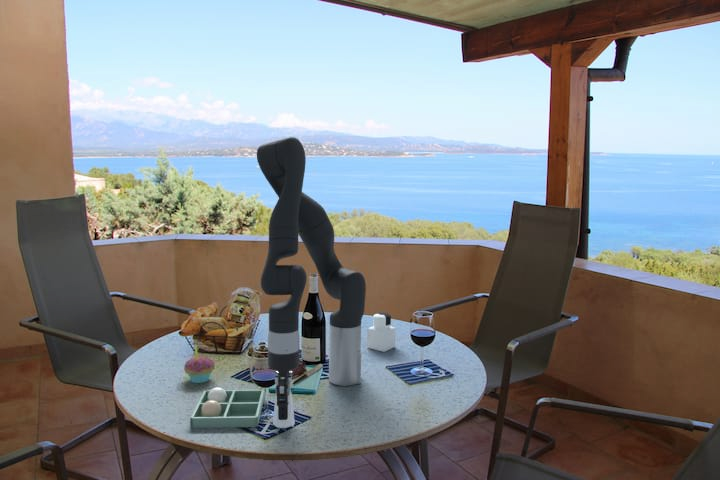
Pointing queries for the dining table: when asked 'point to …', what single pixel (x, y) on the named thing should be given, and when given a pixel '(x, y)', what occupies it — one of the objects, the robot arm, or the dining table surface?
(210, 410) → the egg brown
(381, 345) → the medicine bottle
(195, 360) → the cupcake
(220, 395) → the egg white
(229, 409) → the egg tray
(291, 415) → the salt shaker
